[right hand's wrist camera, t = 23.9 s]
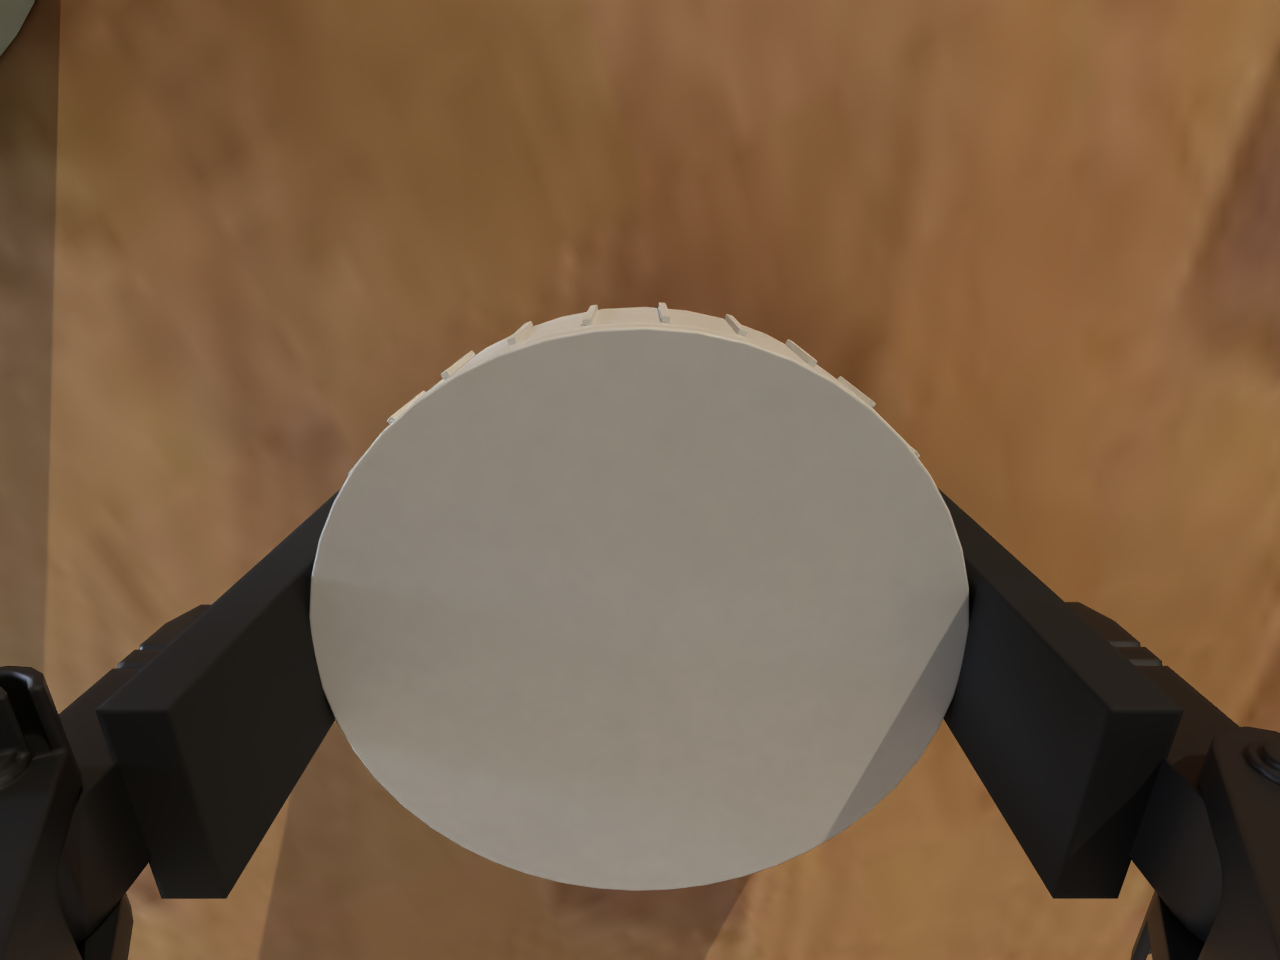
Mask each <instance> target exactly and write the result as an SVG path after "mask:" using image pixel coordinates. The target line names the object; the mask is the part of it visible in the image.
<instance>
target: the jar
mask: <svg viewBox="0 0 1280 960" xmlns="http://www.w3.org/2000/svg"><path fill="white" fill-rule="evenodd" d="M34 2H35V0H0V56H1V55H2V53H3V52H4V51H5V50H6V48H7V47H8V46H9V44H10V43H11V42H12V41H13V39H14V38H15V37H16V35H17V34H18V32H19V30H20V29H21V27H22V25H23V23H24V21H25V19H26V17H27V15H28V13H29V12H30V10H31V8H32V6H33V4H34Z"/></svg>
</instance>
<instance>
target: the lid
mask: <svg viewBox="0 0 1280 960" xmlns="http://www.w3.org/2000/svg"><path fill="white" fill-rule="evenodd" d="M816 363H817V360H815V359H814V358H813V357H812V356H810V355H809V354H808V353H807V352H805V351H804V350H803V349H802V348H800V347H799V346H798V345H796V344H795V343H794V342H792V341H791V340H789V339H788V340H787V341H786V343H785V344H784V343H782V342H780V341H778V340H776V339H774V338H773V337H771V336H769V335H767V334H765V333H762V332H760V331H757V330H754V329H752V328H749V327H746V326H743V325H741V324H740V323H739V322H738V321H737V320H736V319H735V318H734V317H733V316H732V315H728V314H726V316H725V319H723V318H718V317H714V316H709V315H705V314H700V313H696V312H691V311H687V310H675V309H667V306H666V303H660V302H659V306H658V308H652V307H633V308H613V309H600V310H598V306H597V305H591V306H590V307H589V309H588V311H587V312H584V313H579V314H574V315H568V316H563V317H560V318H556V319H553V320H550V321H547V322H544V323H541V324H538V325H535V326H533V324H532V322H531V321H530V322H527V323H525V324H524V325H523V326H522V327H521V328H519V329H518V330H517V331H516V332H515V333H514V334H513V335H511V336H509V337H507V338H505V339H503V340H501V341H499V342H497V343H495V344H493V345H491V346H489V347H487V348H485V349H484V350H482V351H481V352H479V353H478V354H476V355H475V353H474V352H473V351H470V352H469V353H467V354H466V355H465V356H463V357H462V358H461V359H460V360H458V361H457V362H456V363H454V364H453V365H452V366H450V367H449V368H448V369H447V370H445V371H444V372H443V373H441V376H442V378H443V379H442V380H441V381H440V382H438V383H437V384H436V385H435V386H433V387H432V388H431V389H430V390H428V391H427V392H425V391H422V392H421V393H420V394H418V395H417V396H416V397H414V398H413V399H412V400H411V401H409V402H408V403H407V404H406V405H404V406H403V407H402V408H401V409H399V410H398V411H397V412H395V413H394V414H393V415H392V416H390V418H389V419H388V420H387V422H388V423H389V424H390V425H389V426H388V427H387V428H385V429H384V430H383V431H382V432H381V433H380V435H379V436H378V437H377V438H376V440H375V441H374V442H373V443H372V445H371V446H370V447H369V448H368V450H367V451H366V452H365V453H364V455H363V456H362V457H361V458H360V460H359V461H358V462H357V463H356V464H355V466H354V467H353V468H352V469H351V470H350V472H349V474H348V478H347V480H346V481H345V483H344V485H343V486H342V488H341V490H340V492H339V493H338V495H337V497H336V499H335V500H334V502H333V505H332V507H331V510H330V513H329V515H328V518H327V520H326V523H325V526H324V528H323V531H322V533H321V536H320V539H319V543H318V548H317V552H316V557H315V562H314V567H313V571H312V576H311V592H310V613H309V618H310V627H311V634H312V640H313V645H314V651H315V656H316V660H317V665H318V670H319V674H320V679H321V683H322V688H323V691H324V693H325V695H326V698H327V700H328V703H329V705H330V707H331V710H332V712H333V714H334V717H335V719H336V721H337V723H338V725H339V726H340V728H341V730H342V731H343V733H344V735H345V736H346V738H347V740H348V742H349V743H350V745H351V747H352V748H353V750H354V752H355V753H356V754H357V756H358V757H359V758H360V759H361V761H362V762H363V763H364V764H365V766H366V767H367V768H368V769H369V771H370V772H371V773H372V775H373V776H374V777H375V778H376V780H377V781H378V782H379V783H380V784H381V785H382V786H383V787H384V788H385V789H386V790H387V791H388V792H389V793H390V794H391V795H392V796H393V797H394V798H395V799H396V800H397V801H398V802H399V803H400V804H402V805H403V806H404V807H405V808H406V809H408V810H409V811H410V812H412V813H413V814H414V815H415V816H417V817H418V818H419V819H420V820H422V821H423V822H424V823H426V824H427V825H428V826H429V827H431V828H432V829H434V830H436V831H437V832H439V833H440V834H442V835H444V836H445V837H447V838H448V839H450V840H452V841H453V842H455V843H457V844H458V845H460V846H461V847H464V848H466V849H468V850H470V851H472V852H474V853H476V854H478V855H480V856H482V857H484V858H486V859H488V860H491V861H493V862H495V863H498V864H501V865H503V866H506V867H509V868H512V869H514V870H517V871H520V872H523V873H526V874H529V875H532V876H536V877H540V878H544V879H548V880H552V881H556V882H560V883H565V884H571V885H578V886H584V887H591V888H597V889H612V890H629V891H645V890H672V889H679V888H687V887H695V886H703V885H709V884H713V883H718V882H722V881H726V880H731V879H735V878H739V877H743V876H746V875H749V874H752V873H755V872H758V871H761V870H764V869H767V868H770V867H773V866H776V865H779V864H781V863H783V862H785V861H788V860H790V859H792V858H794V857H796V856H799V855H801V854H803V853H805V852H808V851H810V850H812V849H813V848H815V847H817V846H818V845H820V844H822V843H824V842H825V841H827V840H829V839H830V838H832V837H834V836H836V835H837V834H839V833H841V832H842V831H843V830H845V829H846V828H848V827H849V826H850V825H852V824H853V823H854V822H856V821H857V820H858V819H860V818H861V817H862V816H864V815H865V814H866V813H868V812H869V811H870V810H871V809H873V808H874V807H875V806H876V805H877V804H878V803H879V802H880V801H881V800H882V799H883V798H884V797H885V796H886V795H888V794H889V793H890V792H891V791H892V790H893V789H894V788H895V787H896V786H897V785H898V784H899V782H900V781H901V780H902V779H903V778H904V776H905V775H906V774H907V773H908V772H909V771H910V769H911V768H912V767H913V766H914V765H915V763H916V762H917V761H918V760H919V758H920V757H921V755H922V754H923V752H924V751H925V749H926V747H927V746H928V744H929V743H930V741H931V740H932V738H933V737H934V735H935V733H936V732H937V730H938V729H939V726H940V724H941V722H942V720H943V718H944V716H945V714H946V711H947V709H948V707H949V705H950V703H951V701H952V699H953V696H954V693H955V690H956V686H957V683H958V679H959V674H960V670H961V666H962V661H963V656H964V650H965V645H966V640H967V635H968V629H969V586H968V580H967V574H966V568H965V562H964V556H963V550H962V547H961V544H960V541H959V538H958V535H957V532H956V529H955V526H954V523H953V520H952V517H951V514H950V511H949V509H948V507H947V505H946V503H945V502H944V500H943V498H942V496H941V494H940V492H939V490H938V488H937V486H936V484H935V482H934V481H933V479H932V477H931V475H930V474H929V472H928V471H927V469H926V468H925V467H924V465H923V464H922V463H921V461H920V460H919V459H918V458H919V457H920V455H919V454H918V452H917V451H916V450H915V449H914V448H912V447H911V446H910V445H909V444H908V443H907V442H906V441H905V440H904V439H903V438H902V437H901V436H900V435H899V434H898V433H897V432H896V431H895V430H894V429H893V428H892V427H891V426H890V425H889V424H888V423H887V422H886V421H885V420H884V419H883V418H882V417H881V416H880V415H879V414H878V413H877V412H876V411H875V410H874V409H873V407H874V406H875V405H876V403H874V402H873V401H872V400H871V399H870V398H868V397H867V396H866V395H865V394H863V393H862V392H861V391H859V390H858V389H857V388H856V387H854V386H853V385H852V384H850V383H849V382H848V381H847V380H845V379H844V378H843V377H841V376H840V377H839V378H838V379H836V378H834V377H833V376H832V375H830V374H829V373H828V372H826V371H825V370H824V369H822V368H821V367H820V366H818V365H817V364H816Z"/></svg>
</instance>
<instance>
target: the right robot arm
mask: <svg viewBox="0 0 1280 960" xmlns="http://www.w3.org/2000/svg"><path fill="white" fill-rule="evenodd" d="M340 490H341V489H340ZM340 490H339V491H338V492H337V493H335V494H334V495H333V496H332V497H331V498H330V499H329V500H328V501H327V502H325V503H324V504H323V505H322V506H321V507H320V508H319V509H318V510H317V511H315V512H314V513H313V514H312V515H311V516H310V517H309V518H308V519H307V520H305V521H304V522H303V523H302V524H301V525H300V526H299V527H298V528H297V529H295V530H294V531H293V532H292V533H291V534H290V535H289V536H288V537H287V538H285V539H284V540H283V541H282V542H281V543H280V544H279V545H278V546H277V547H275V548H274V549H273V550H272V551H271V552H270V553H269V554H268V555H267V556H265V557H264V558H263V559H262V560H261V561H260V562H259V563H258V564H257V565H255V566H254V567H253V568H252V569H251V570H250V571H249V572H248V573H247V574H245V575H244V576H243V577H242V578H241V579H240V580H239V581H238V582H237V583H235V584H234V585H233V586H232V587H231V588H230V589H229V590H228V591H227V592H225V593H224V594H223V595H222V596H221V597H220V598H219V599H218V600H217V601H215V602H214V603H213V604H212V605H200V606H198V607H196V608H194V609H192V610H190V611H188V612H186V613H185V614H183V615H181V616H179V617H177V618H175V619H173V620H171V621H169V622H167V623H166V624H164V625H163V626H162V627H161V628H160V629H159V630H157V631H156V632H155V633H154V634H153V635H152V636H150V637H149V638H148V639H147V640H146V641H145V642H143V643H142V644H141V645H140V649H139V650H134V651H133V652H132V653H130V654H129V655H128V656H127V657H126V658H125V659H123V660H122V661H121V662H120V663H119V664H118V668H117V669H112V670H110V671H109V672H108V673H107V674H106V675H105V676H103V677H102V678H101V679H100V680H99V681H98V682H96V683H95V684H94V685H93V686H92V687H90V688H89V689H88V690H87V691H86V692H85V693H83V694H82V695H81V696H80V697H79V698H78V699H76V700H75V701H74V702H73V703H72V704H71V705H69V706H68V707H67V708H66V709H65V710H63V711H62V712H61V713H60V714H59V715H58V712H57V710H56V707H55V705H54V702H53V699H52V697H51V694H50V691H49V689H48V686H47V683H46V681H45V678H44V676H43V674H42V673H40V672H39V671H37V670H35V669H33V668H31V667H20V666H4V667H0V960H128V954H129V947H130V940H131V934H132V927H133V916H132V910H131V905H130V902H129V900H128V897H127V894H126V891H127V890H128V889H129V887H130V886H131V885H132V884H133V882H134V881H135V880H136V878H137V877H138V876H139V874H140V873H141V872H142V870H143V869H144V868H145V867H146V865H147V864H148V863H149V864H150V867H151V870H152V873H153V875H154V878H155V881H156V884H157V887H158V890H159V892H160V895H161V898H162V899H197V898H227V896H228V895H229V893H230V891H231V890H232V888H233V886H234V885H235V883H236V882H237V880H238V878H239V877H240V875H241V873H242V872H243V870H244V868H245V867H246V865H247V863H248V862H249V860H250V859H251V857H252V855H253V854H254V852H255V850H256V849H257V847H258V845H259V844H260V842H261V841H262V839H263V837H264V836H265V834H266V832H267V831H268V829H269V827H270V826H271V824H272V822H273V821H274V819H275V818H276V816H277V814H278V813H279V811H280V809H281V808H282V806H283V804H284V803H285V801H286V799H287V798H288V796H289V795H290V793H291V791H292V790H293V788H294V786H295V785H296V783H297V781H298V780H299V778H300V776H301V775H302V773H303V772H304V770H305V768H306V767H307V765H308V763H309V762H310V760H311V758H312V757H313V755H314V753H315V752H316V750H317V749H318V747H319V745H320V744H321V742H322V740H323V739H324V737H325V735H326V734H327V732H328V731H329V729H330V727H331V726H332V724H333V722H334V721H335V717H334V714H333V712H332V710H331V707H330V705H329V703H328V700H327V698H326V695H325V693H324V691H323V688H322V683H321V679H320V674H319V670H318V665H317V660H316V656H315V651H314V645H313V640H312V634H311V627H310V618H309V613H310V592H311V576H312V571H313V567H314V562H315V557H316V552H317V548H318V543H319V539H320V536H321V533H322V531H323V528H324V526H325V523H326V520H327V518H328V515H329V513H330V510H331V507H332V505H333V502H334V500H335V499H336V497H337V495H338V493H339V492H340ZM938 490H939V489H938ZM939 492H940V494H941V496H942V498H943V500H944V502H945V503H946V505H947V507H948V509H949V511H950V514H951V517H952V520H953V523H954V526H955V529H956V532H957V535H958V538H959V541H960V544H961V547H962V550H963V556H964V562H965V568H966V574H967V580H968V586H969V629H968V635H967V640H966V645H965V650H964V656H963V661H962V666H961V670H960V674H959V679H958V683H957V686H956V690H955V693H954V696H953V699H952V701H951V703H950V705H949V707H948V709H947V711H946V714H945V716H944V720H945V722H946V723H947V725H948V727H949V728H950V730H951V732H952V733H953V735H954V736H955V738H956V740H957V741H958V743H959V745H960V746H961V748H962V750H963V751H964V753H965V755H966V756H967V758H968V759H969V761H970V763H971V764H972V766H973V768H974V769H975V771H976V773H977V774H978V776H979V778H980V779H981V781H982V782H983V784H984V786H985V787H986V789H987V791H988V792H989V794H990V796H991V797H992V799H993V800H994V802H995V804H996V805H997V807H998V809H999V810H1000V812H1001V814H1002V815H1003V817H1004V819H1005V820H1006V822H1007V823H1008V825H1009V827H1010V828H1011V830H1012V832H1013V833H1014V835H1015V837H1016V838H1017V840H1018V842H1019V843H1020V845H1021V846H1022V848H1023V850H1024V851H1025V853H1026V855H1027V856H1028V858H1029V860H1030V861H1031V863H1032V865H1033V866H1034V868H1035V869H1036V871H1037V873H1038V874H1039V876H1040V878H1041V879H1042V881H1043V883H1044V884H1045V886H1046V887H1047V889H1048V891H1049V892H1050V894H1051V896H1052V897H1053V898H1118V896H1119V893H1120V890H1121V887H1122V885H1123V882H1124V879H1125V876H1126V873H1127V871H1128V868H1129V865H1130V862H1131V860H1132V861H1133V862H1134V864H1135V865H1136V866H1137V867H1138V869H1139V870H1140V871H1141V873H1142V874H1143V875H1144V877H1145V878H1146V879H1147V880H1148V882H1149V883H1150V884H1151V886H1152V887H1153V888H1154V890H1155V892H1154V894H1153V897H1152V900H1151V902H1150V905H1149V908H1148V910H1147V913H1146V916H1145V918H1144V921H1143V923H1142V926H1141V929H1140V931H1139V934H1138V937H1137V939H1136V942H1135V945H1134V947H1133V950H1132V954H1131V960H1146V958H1147V955H1148V954H1150V953H1152V958H1153V960H1280V733H1278V732H1275V731H1269V730H1264V729H1258V728H1252V727H1239V726H1238V725H1237V724H1236V723H1234V722H1233V721H1232V720H1231V719H1230V718H1228V717H1227V716H1226V715H1225V714H1224V713H1223V712H1221V711H1220V710H1219V709H1218V708H1217V707H1215V706H1214V705H1213V704H1212V703H1211V702H1210V701H1208V700H1207V699H1206V698H1205V697H1204V696H1202V695H1201V694H1200V693H1199V692H1198V691H1197V690H1195V689H1194V688H1193V687H1192V686H1191V685H1189V684H1188V683H1187V682H1186V681H1185V680H1184V679H1182V678H1181V677H1180V676H1179V675H1178V674H1176V673H1175V672H1174V671H1173V670H1172V669H1170V668H1169V667H1168V666H1163V665H1162V661H1161V660H1160V659H1159V658H1157V657H1156V656H1155V655H1154V654H1153V653H1152V652H1150V651H1149V650H1148V649H1147V648H1146V647H1140V642H1139V641H1137V640H1136V639H1135V638H1134V637H1133V636H1131V635H1130V634H1129V633H1128V632H1127V631H1126V630H1124V629H1123V628H1122V627H1121V626H1120V625H1118V624H1117V623H1116V622H1115V621H1113V620H1112V619H1110V618H1108V617H1106V616H1104V615H1102V614H1100V613H1098V612H1096V611H1094V610H1092V609H1091V608H1089V607H1087V606H1085V605H1083V604H1081V603H1079V602H1064V601H1063V600H1062V599H1061V598H1059V597H1058V596H1057V595H1056V594H1055V593H1054V592H1053V591H1052V590H1051V589H1049V588H1048V587H1047V586H1046V585H1045V584H1044V583H1043V582H1042V581H1041V580H1039V579H1038V578H1037V577H1036V576H1035V575H1034V574H1033V573H1032V572H1031V571H1029V570H1028V569H1027V568H1026V567H1025V566H1024V565H1023V564H1022V563H1021V562H1019V561H1018V560H1017V559H1016V558H1015V557H1014V556H1013V555H1012V554H1011V553H1009V552H1008V551H1007V550H1006V549H1005V548H1004V547H1003V546H1002V545H1001V544H999V543H998V542H997V541H996V540H995V539H994V538H993V537H992V536H991V535H989V534H988V533H987V532H986V531H985V530H984V529H983V528H982V527H981V526H979V525H978V524H977V523H976V522H975V521H974V520H973V519H972V518H971V517H969V516H968V515H967V514H966V513H965V512H964V511H963V510H962V509H961V508H959V507H958V506H957V505H956V504H955V503H954V502H953V501H952V500H951V499H949V498H948V497H947V496H946V495H945V494H944V493H943V492H942V491H941V490H939Z"/></svg>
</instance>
